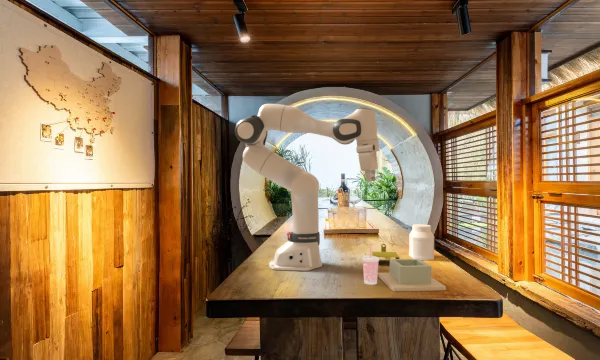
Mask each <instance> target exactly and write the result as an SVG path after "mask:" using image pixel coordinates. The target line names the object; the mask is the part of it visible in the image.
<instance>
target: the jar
mask: <svg viewBox="0 0 600 360" xmlns="http://www.w3.org/2000/svg"><path fill="white" fill-rule="evenodd" d="M411 228H412V230H411V231H410V232H409V235H408V237H409V238H408V239H409V240H408V250H409V251H408V256H409V257H411V259H420V260H421V261H433V260H434V259H435V235H434V233H433V232H432V225H431V224H423V223H416V224H415V223H413V224H412V227H411Z"/></svg>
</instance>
